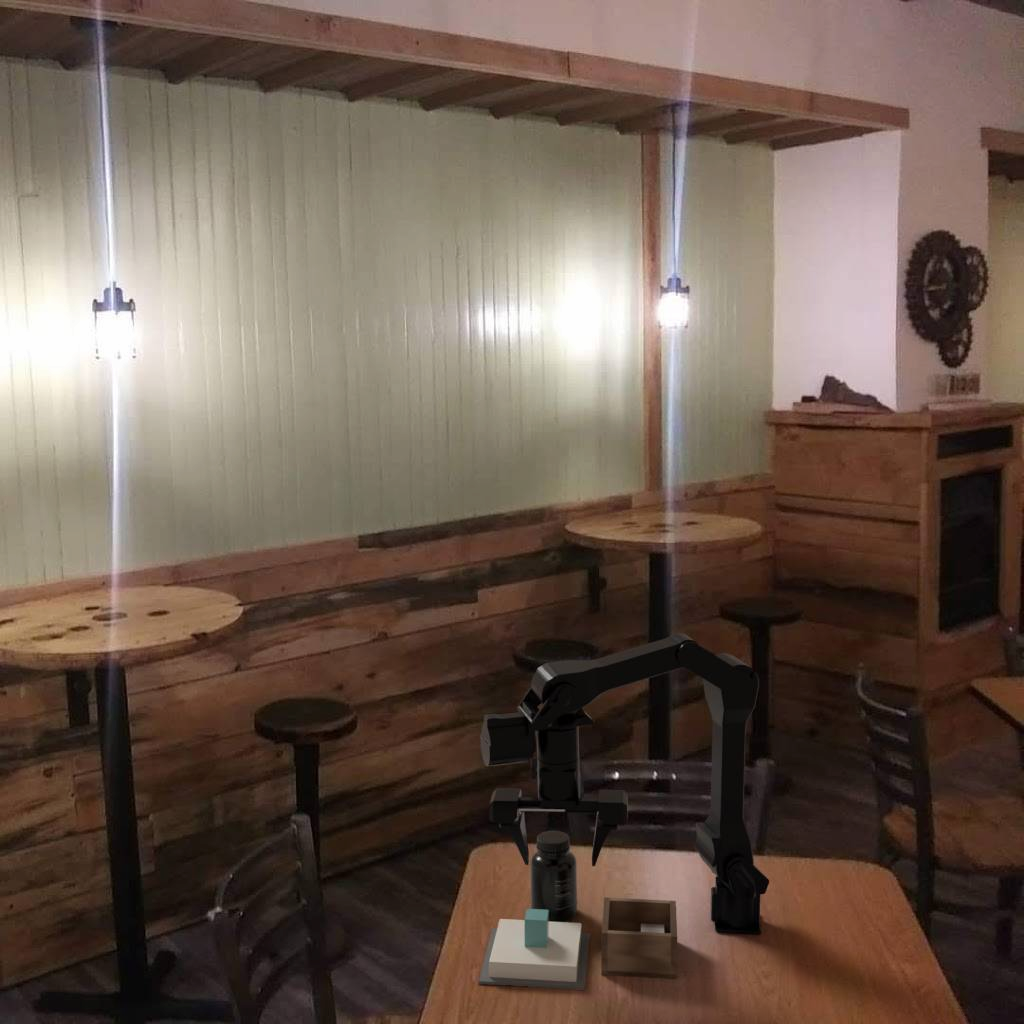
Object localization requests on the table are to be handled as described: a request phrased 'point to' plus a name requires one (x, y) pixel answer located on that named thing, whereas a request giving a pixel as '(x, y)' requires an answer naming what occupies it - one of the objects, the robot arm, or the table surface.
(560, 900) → the supplement bottle
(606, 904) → the parts box
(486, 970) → the mat
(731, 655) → the robot arm
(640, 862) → the table surface
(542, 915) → the lid
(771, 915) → the table surface
